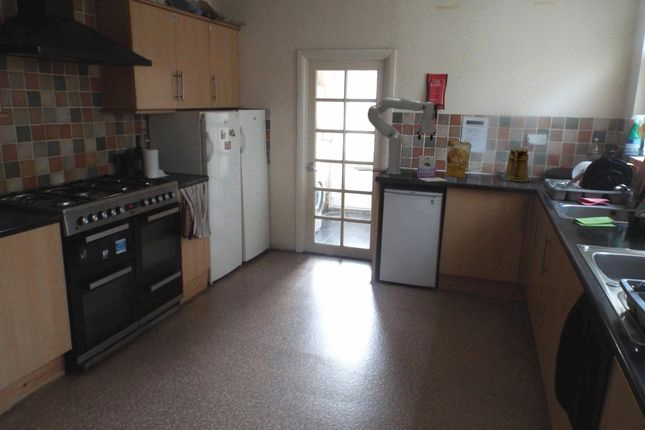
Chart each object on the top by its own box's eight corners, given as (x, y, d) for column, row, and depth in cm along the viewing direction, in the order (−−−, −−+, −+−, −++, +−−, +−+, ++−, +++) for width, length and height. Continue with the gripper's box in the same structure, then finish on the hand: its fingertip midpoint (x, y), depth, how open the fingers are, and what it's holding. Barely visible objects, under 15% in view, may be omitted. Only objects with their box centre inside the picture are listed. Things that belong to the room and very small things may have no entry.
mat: (418, 178, 371) (418, 178, 371) (438, 177, 376) (439, 177, 376) (426, 181, 358) (426, 181, 358) (448, 181, 363) (448, 180, 363)
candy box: (434, 176, 380) (435, 155, 376) (435, 177, 374) (436, 156, 371) (416, 176, 381) (418, 155, 378) (417, 177, 375) (418, 156, 372)
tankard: (529, 180, 377) (533, 148, 371) (526, 184, 357) (530, 150, 351) (504, 177, 385) (508, 146, 379) (500, 181, 365) (504, 148, 359)
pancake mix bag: (445, 174, 393) (448, 140, 386) (468, 177, 382) (472, 142, 375) (442, 175, 387) (445, 140, 381) (465, 178, 376) (469, 142, 370)
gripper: (418, 117, 370) (416, 140, 374) (439, 119, 373) (437, 141, 377) (415, 117, 377) (413, 139, 381) (436, 118, 380) (433, 140, 384)
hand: (425, 140), depth 379 cm, fingers open, 9 cm apart
